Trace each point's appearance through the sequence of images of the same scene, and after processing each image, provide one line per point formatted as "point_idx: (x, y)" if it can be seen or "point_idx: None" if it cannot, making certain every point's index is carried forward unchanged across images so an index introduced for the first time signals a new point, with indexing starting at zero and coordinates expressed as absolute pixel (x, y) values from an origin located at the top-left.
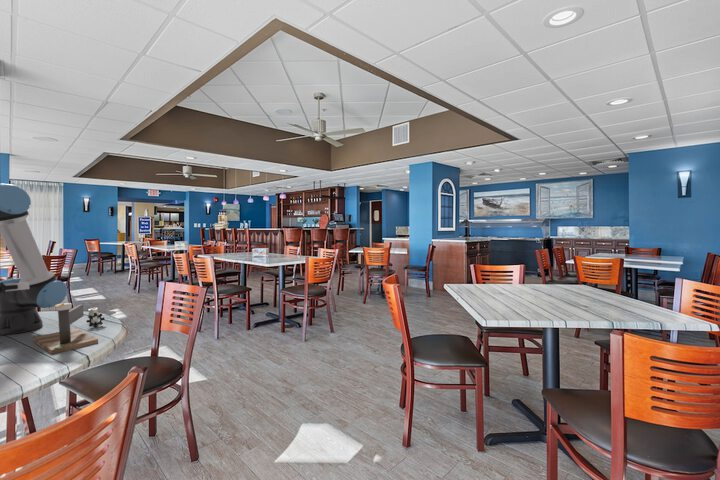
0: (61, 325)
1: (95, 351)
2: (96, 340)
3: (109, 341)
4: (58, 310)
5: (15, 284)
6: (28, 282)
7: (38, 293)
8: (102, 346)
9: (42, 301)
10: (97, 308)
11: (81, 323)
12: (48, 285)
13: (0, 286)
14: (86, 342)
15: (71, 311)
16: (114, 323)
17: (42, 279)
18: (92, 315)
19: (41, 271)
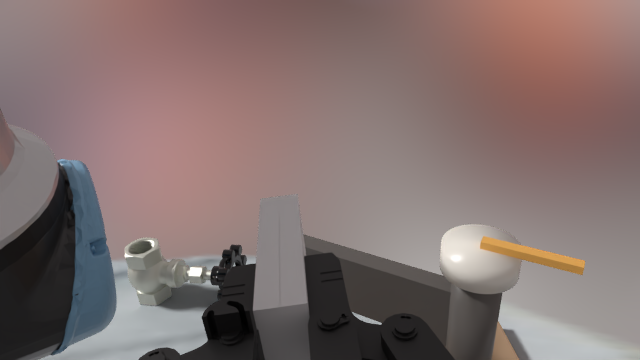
0: (491, 347)
1: (622, 352)
2: (497, 323)
3: (501, 303)
4: (514, 284)
5: (305, 258)
6: (298, 200)
7: (66, 278)
8: (559, 327)
9: (108, 312)
10: (153, 238)
11: (119, 323)
12: (93, 203)
13: (434, 346)
14: (512, 349)
15: (412, 268)
16: (252, 259)
17: (42, 176)
18: (176, 269)
19: (3, 118)
